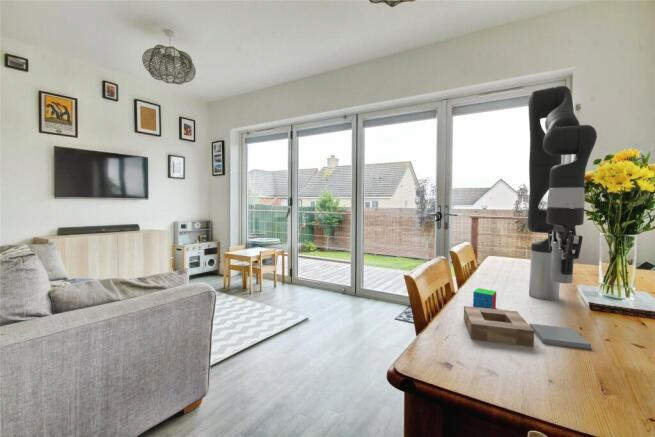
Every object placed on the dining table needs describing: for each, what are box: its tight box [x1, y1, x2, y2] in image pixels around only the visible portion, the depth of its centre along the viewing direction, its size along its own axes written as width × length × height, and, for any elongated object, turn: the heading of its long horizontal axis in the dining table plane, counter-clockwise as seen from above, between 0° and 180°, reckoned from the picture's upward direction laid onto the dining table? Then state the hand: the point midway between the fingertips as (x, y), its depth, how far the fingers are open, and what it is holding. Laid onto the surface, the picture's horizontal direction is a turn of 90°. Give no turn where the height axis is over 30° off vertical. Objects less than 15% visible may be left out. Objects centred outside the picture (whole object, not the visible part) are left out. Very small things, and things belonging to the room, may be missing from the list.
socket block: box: [463, 305, 535, 348], centre depth 83 cm, size 14×14×4 cm
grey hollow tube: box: [551, 241, 575, 285], centre depth 79 cm, size 4×4×10 cm
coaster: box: [529, 323, 592, 350], centre depth 80 cm, size 10×10×1 cm
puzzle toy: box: [472, 287, 497, 309], centre depth 102 cm, size 6×6×6 cm
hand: (561, 271), depth 79 cm, fingers closed on grey hollow tube, 4 cm apart
